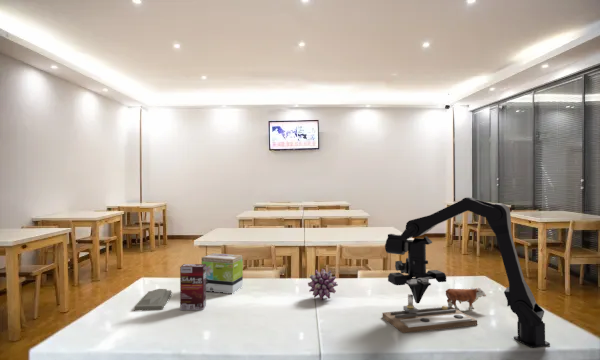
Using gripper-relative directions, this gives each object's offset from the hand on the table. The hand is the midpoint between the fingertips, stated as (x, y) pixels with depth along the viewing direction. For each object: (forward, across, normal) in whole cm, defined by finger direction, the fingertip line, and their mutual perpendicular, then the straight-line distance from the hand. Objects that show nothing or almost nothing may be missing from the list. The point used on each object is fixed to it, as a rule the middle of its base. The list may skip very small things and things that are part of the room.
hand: (417, 303), depth 128 cm
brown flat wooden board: (+5, -2, +3) cm, 6 cm away
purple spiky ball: (+6, +25, -28) cm, 38 cm away
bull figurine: (+5, -21, -4) cm, 22 cm away
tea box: (+6, +63, -52) cm, 82 cm away
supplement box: (+6, +74, -30) cm, 80 cm away
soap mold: (+6, +89, -42) cm, 99 cm away
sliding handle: (+2, +3, 0) cm, 4 cm away
